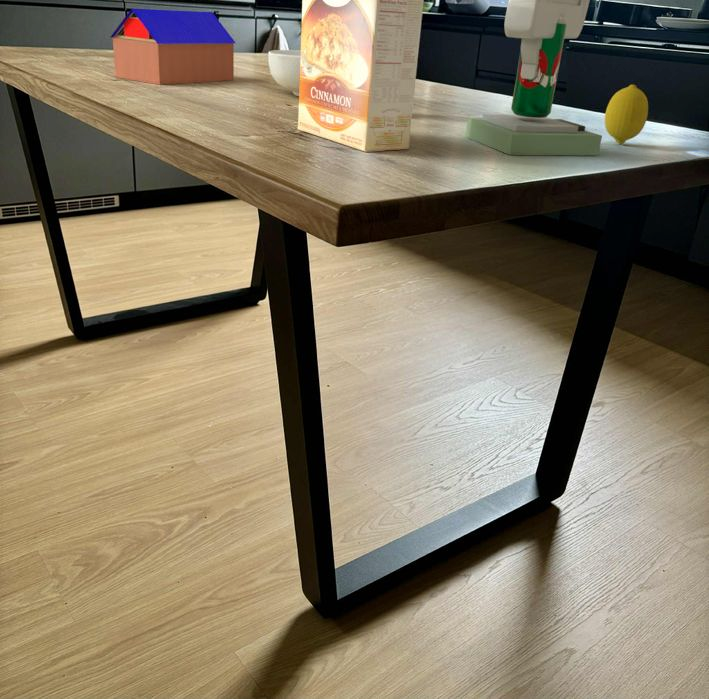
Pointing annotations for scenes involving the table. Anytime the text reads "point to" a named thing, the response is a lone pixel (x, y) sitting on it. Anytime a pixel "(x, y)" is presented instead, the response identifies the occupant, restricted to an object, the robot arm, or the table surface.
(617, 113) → the lemon
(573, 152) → the scale
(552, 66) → the soda can
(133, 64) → the house
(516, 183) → the table surface
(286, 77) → the cereal bowl
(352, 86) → the coffeecake box
